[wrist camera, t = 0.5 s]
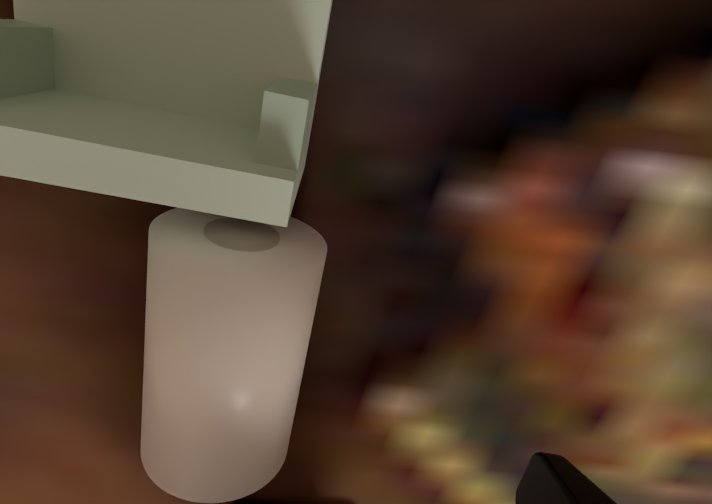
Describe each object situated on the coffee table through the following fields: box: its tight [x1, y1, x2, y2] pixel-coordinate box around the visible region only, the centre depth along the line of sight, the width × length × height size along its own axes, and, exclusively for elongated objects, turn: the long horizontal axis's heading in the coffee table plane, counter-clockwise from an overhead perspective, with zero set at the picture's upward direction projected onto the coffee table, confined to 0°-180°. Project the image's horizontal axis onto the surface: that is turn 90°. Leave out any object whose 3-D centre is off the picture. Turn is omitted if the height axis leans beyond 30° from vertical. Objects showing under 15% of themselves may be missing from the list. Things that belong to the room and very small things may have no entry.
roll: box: [141, 208, 327, 503], centre depth 18 cm, size 9×6×6 cm, turn 168°
